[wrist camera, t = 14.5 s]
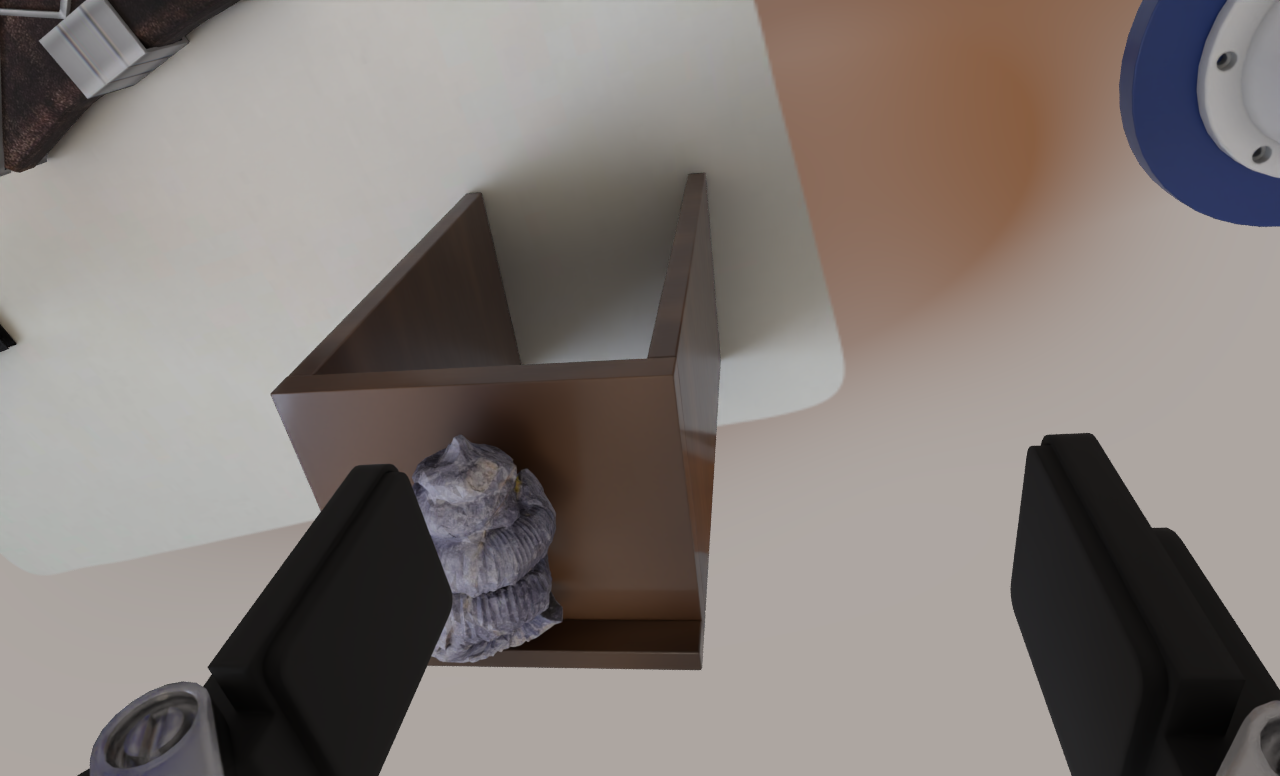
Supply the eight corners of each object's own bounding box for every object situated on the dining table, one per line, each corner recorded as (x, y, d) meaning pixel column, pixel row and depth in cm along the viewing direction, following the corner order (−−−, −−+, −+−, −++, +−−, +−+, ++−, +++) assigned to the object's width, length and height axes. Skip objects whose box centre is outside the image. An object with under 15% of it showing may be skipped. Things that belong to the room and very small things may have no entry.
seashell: (535, 589, 32) (497, 377, 27) (597, 677, 28) (565, 446, 23) (408, 647, 30) (341, 427, 25) (455, 752, 26) (386, 513, 21)
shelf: (705, 172, 43) (669, 402, 23) (720, 360, 49) (702, 671, 29) (465, 193, 45) (244, 419, 25) (508, 371, 51) (356, 665, 32)
